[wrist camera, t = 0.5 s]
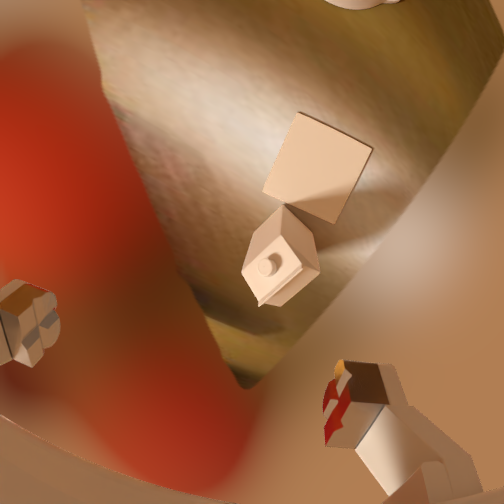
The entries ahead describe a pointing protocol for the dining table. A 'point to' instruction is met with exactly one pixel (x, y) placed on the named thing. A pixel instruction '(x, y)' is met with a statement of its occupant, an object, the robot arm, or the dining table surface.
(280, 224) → the milk carton
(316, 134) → the mat
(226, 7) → the dining table surface
